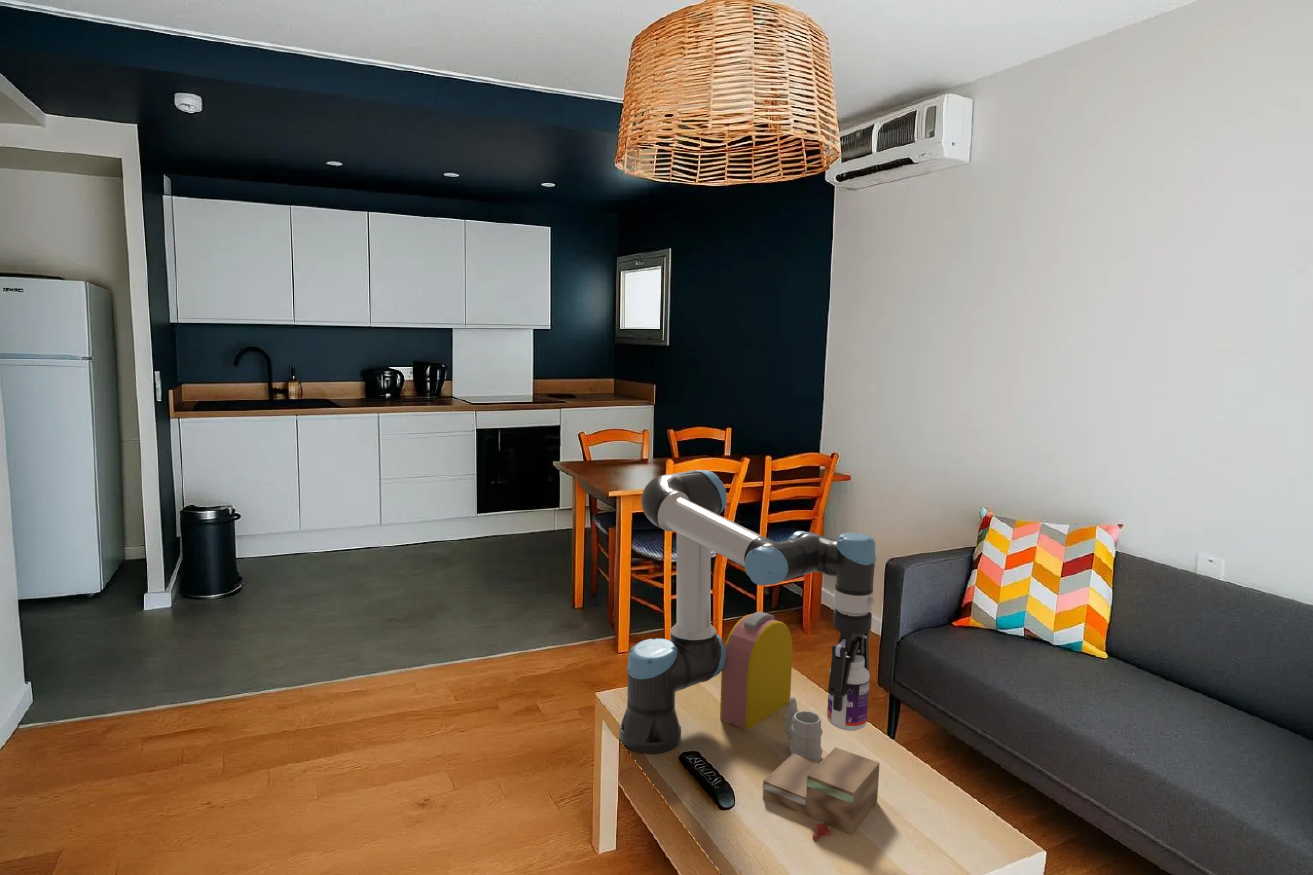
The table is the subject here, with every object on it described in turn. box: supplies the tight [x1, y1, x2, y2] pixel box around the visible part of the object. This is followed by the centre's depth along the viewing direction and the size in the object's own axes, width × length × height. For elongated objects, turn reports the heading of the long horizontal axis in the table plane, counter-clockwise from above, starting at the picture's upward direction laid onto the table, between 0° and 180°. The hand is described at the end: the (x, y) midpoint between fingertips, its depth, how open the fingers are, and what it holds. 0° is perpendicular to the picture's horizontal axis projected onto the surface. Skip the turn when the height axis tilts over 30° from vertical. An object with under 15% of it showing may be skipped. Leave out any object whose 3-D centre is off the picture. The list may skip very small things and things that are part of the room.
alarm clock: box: [719, 611, 793, 730], centre depth 206 cm, size 21×9×26 cm, turn 140°
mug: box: [784, 696, 824, 763], centre depth 186 cm, size 8×12×12 cm, turn 26°
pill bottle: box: [826, 654, 871, 732], centre depth 161 cm, size 8×8×14 cm
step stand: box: [762, 746, 880, 842], centre depth 165 cm, size 20×20×9 cm
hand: (847, 715), depth 162 cm, fingers closed on pill bottle, 8 cm apart
